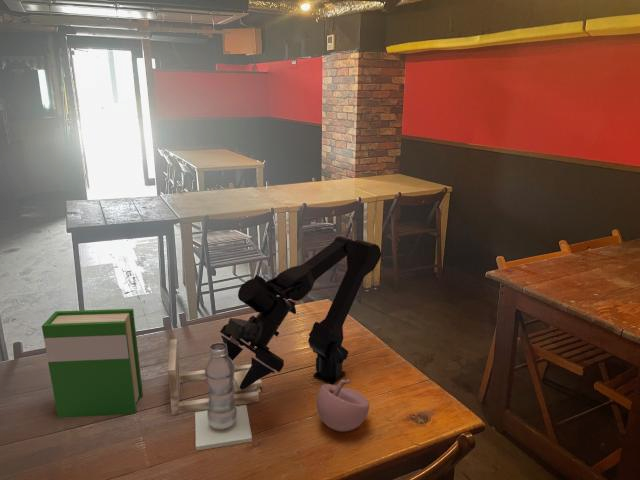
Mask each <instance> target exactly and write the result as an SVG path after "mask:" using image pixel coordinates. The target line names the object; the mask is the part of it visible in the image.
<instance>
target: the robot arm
mask: <svg viewBox="0 0 640 480" xmlns="http://www.w3.org/2000/svg"><path fill="white" fill-rule="evenodd" d="M381 256H382V251H381V248H380V246H379V245H378V244H375V243H372V242H369V241H366V240H363V239H360V238H359V239H356V240H353V239H351V238H348V237H346V236H342V235H340V236H337V237H335V238H334V240H333V241H332V242H331V243H330V244H328V245H327V246H325V247H324V248H323V249H322V250H320V251H319V252H317V253H316V254H315V255H313V256H312V257H310V258H309V259H307V260H306V262H304V263H302V264H300V265H295V266H292V267H288V268H287V269H285V270H283V271H281V272H280V273H278V275H277V276H275V277H273V278H271V279H269V280H266V279H264V278H263V277H262V276H260V275H258V274H255V276H254V277H253V278H251V279H248V280H246V281H245V282H244V283H242V284H241V286H240V287H239V289H238V292H237V297H238V299H239V301H240V302H242V303H243V304H245V305H246V306H247V307H249V308H250V309H252V310H253V311H255V312H256V313H258V314H257V315H256V316H255V315H252V316H250V317H249V319H248V320H246V319H241V318H233V317H229V320H228V321H227V322H228V323H226V324H224V325H223V326H222V328H221V330H220V331H219V332H220V333H221V335H220V336H221V339H222V341H223V342H222V343H225V344H226V345H227V350H228V356H229V357H230V358H231V360H232V361H233V362H234V360H235V359H236V358H237V357H238V356H239V355H240V353H241V352H242V351H243V350H244V348H247V350H250V352H251V353H254V354H255V355H254V356H255V358H256V359H255V358H254V357H253V356H252V357H251V363H250V364H251V367H250V369H249V371H248V372H247V374H246V376H245V377H244V379H243V381H242V383H241V385H240V387H239V388H240V389H242V390H243V389H245V388H247V387H248V386H250V385H251V384H253V383H254V382H256V381H257V380H259V379H263V378H264V377H266V376H267V375H270V374H275V373H276V372H277V373H280V372H281V371H282V369H283V367H284V366H285V360H284V359H283V358H281V357H280V356H279V355H277V354H276V353H274V352H272V351H271V350H270V349H271V348H270V347H268V344H269V343H270V341H271V340H272V339H273V338H274V336H275V337H279V335H280V332H279V331H278V329H279V328H280V326H281V325H282V323H283V321H284V320H285V319H286V317H287V316H288V314H289V313H291V314H293V315H296V314H297V308H296V302H299V301H301V300H303V299H304V298H305V297H306V295H308V294H309V293H310V291H312V289H313V287H314V283H315V282H316V281H317V279H319V278H320V277H321V276H323V275H324V274H325V273H327V272H328V271H330V270H331V269H332V268H333V267H334V266H335V265H337V264H338V263H339V262H342V260H343V259H344V258H346V269H347V270H346V271H345V274H344V276H343V278H342V280H341V282H340V284H339V287H338V288H337V292H336V293H335V296H334V298H333V301H332V303H331V305H330V307H329V310H328V312H327V314H326V316H325V318H324V319H323V320H321V321H320V322H318V321H315V322H314V323H313V324H312V325H313V326H312V329H311V331H310V332H309V333H308V336H309V337H308V340H307V342H308V345H309V347H310V349H311V350H312V352H313V353H315V354H316V358H315V372H314V374H313V378H315V379H318V380H320V381H323V382H325V383H327V384H331V385H335V384H336V383H337V381H340V379H341V378H342V377H344V376H345V375H346V371H344V370H343V363H344V361H345V360H347V359H348V355H349V352H350V351H349V350H348V349H346V348H345V347H344V346H342V344H343V341H344V329H343V326H344V324H345V322H346V320H347V317H348V314H349V312H350V311H351V307H352V306H353V304H354V301H355V299H356V297H357V294H358V292H359V291H360V288H361V285H362V283H363V281H364V279H365V277H366V276H367V275H369V274H370V273H371V272H372V271H374V270H375V269H376V266H377V265H378V263H379V261H380V259H381V258H382V257H381ZM295 301H296V302H295ZM241 346H242V347H244V348H242V347H241ZM274 370H275V371H274Z"/></svg>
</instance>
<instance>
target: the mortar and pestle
mask: <svg viewBox="0 0 640 480" xmlns="http://www.w3.org/2000/svg"><path fill="white" fill-rule="evenodd" d="M350 383H351V380H350V379H349V378H348V379H341V380H339V382H338V384H337V385H335V384H330V383H327V384H322V385H321V387H320V389H319V390H318V392H317V396H316V397H317V398H316V411H317V413H318V415H319V418H320V420H321V421H322V422H323V424H325V425H326V426H327V427H329V428H330V429H332V430H334V431H337V432H349V431H350V432H351V431H352V430H354V429H357V428H359V426H360V425H362V424H363V422H364V421H365V420H366V419H367V416H368V414H369V409H370V403H369V401H368V399H367V398H366V397H365V396H364V395H363V394H361V393H360V392H359V391H357V390H353V389H351V388H348V387H344V386H345V385H349V384H350Z"/></svg>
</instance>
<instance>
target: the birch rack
mask: <svg viewBox="0 0 640 480" xmlns="http://www.w3.org/2000/svg"><path fill="white" fill-rule="evenodd" d="M177 339H178V338H172V339H170V341H169V351H168V353H169V354H168V363H167V364H168V366H167V375H168V377H167V378H168V386H169V388H168V389H169V396H170V397H169V398H170V409H171V415H172V416H173V415H179V414H185V413H191V412H192V413H193V412H200V411H207V410H208V407H209V397H208V398H200V399H192V400H186V401H180V396H181V394H180V392H181V384H182V383H190V382H196V381H197V382H198V381H207V379H206V374H205V369H200V370H194V371H193V370H191V371H186V372H185V371H184V372H181V371H180V363H179V361H180V360H179V352H178V351H179V349H178V340H177ZM250 367H251V363H249V364H241V365H235V372H239V371H243V370H248V369H250ZM234 402H235V406H242V405H246V404H247V405H248V404H253V403H259V402H260V393H258V391H257V392H249V393H242V394H235V393H234Z"/></svg>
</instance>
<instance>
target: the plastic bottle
mask: <svg viewBox="0 0 640 480" xmlns="http://www.w3.org/2000/svg"><path fill="white" fill-rule="evenodd" d="M209 356H210V357H209V359H207V362H206V363H205V366H204V370H205V374H206V383H207V391H208V398H209V407H208V409H207V411H208V412H207V419H208V422H209V424H210V425H211V426H212V427H213V428H214V429H217V430H224V429H228V428H230V427H231V426H233V424H234V423H235V422H236V418H237V410H236V406H237V405H235V402H234V395H235V393H234V387H233V381H234V373H235V366H236V365H235V362H234V360H233V361H232V360H231V358H230V357H229V356H228V350H227V345H226V344H225V343H223V342H214V343H211V345H210V346H209Z"/></svg>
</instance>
